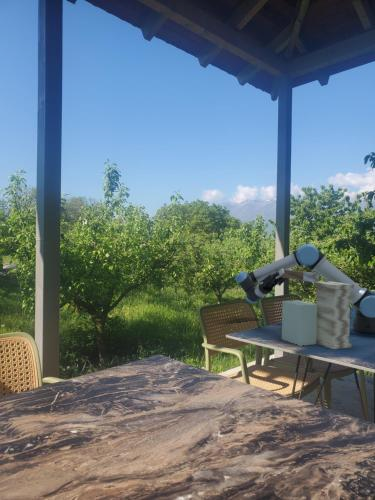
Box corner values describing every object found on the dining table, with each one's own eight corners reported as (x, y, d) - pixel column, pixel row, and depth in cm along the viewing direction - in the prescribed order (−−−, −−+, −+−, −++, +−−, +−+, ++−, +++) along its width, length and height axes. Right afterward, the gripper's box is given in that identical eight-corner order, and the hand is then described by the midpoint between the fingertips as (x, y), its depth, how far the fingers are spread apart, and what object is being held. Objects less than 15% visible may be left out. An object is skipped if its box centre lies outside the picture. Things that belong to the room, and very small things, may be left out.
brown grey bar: (281, 276, 213) (282, 269, 213) (318, 281, 187) (318, 273, 187) (275, 276, 211) (275, 269, 211) (311, 281, 186) (312, 273, 186)
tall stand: (330, 340, 201) (332, 281, 201) (352, 347, 189) (354, 284, 188) (312, 342, 197) (313, 282, 196) (332, 349, 184) (334, 285, 183)
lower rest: (297, 337, 205) (298, 300, 205) (316, 344, 193) (317, 304, 192) (281, 339, 201) (282, 301, 201) (299, 345, 189) (300, 305, 188)
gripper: (278, 294, 226) (302, 277, 208) (252, 295, 220) (275, 277, 201) (274, 282, 230) (297, 264, 211) (249, 282, 223) (271, 264, 204)
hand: (286, 270), depth 206 cm, fingers closed on brown grey bar, 4 cm apart
